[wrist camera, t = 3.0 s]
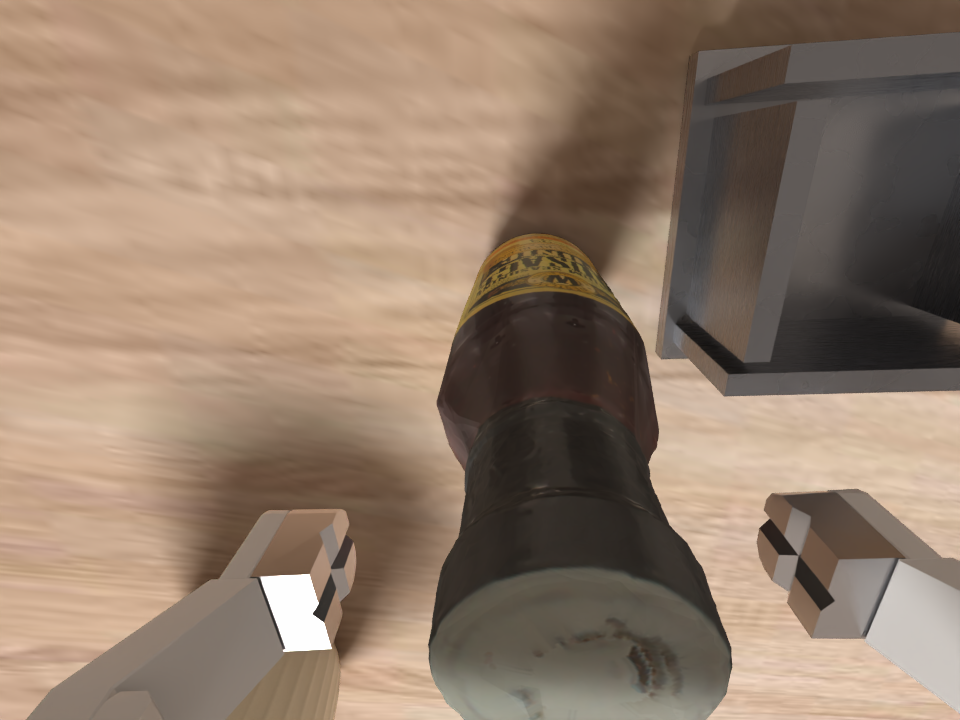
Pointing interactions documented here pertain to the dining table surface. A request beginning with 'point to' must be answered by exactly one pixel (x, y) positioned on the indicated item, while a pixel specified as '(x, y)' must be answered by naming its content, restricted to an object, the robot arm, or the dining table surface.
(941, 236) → the square socket
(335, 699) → the canister
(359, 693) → the dining table surface
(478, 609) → the sauce bottle
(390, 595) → the dining table surface
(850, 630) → the robot arm
